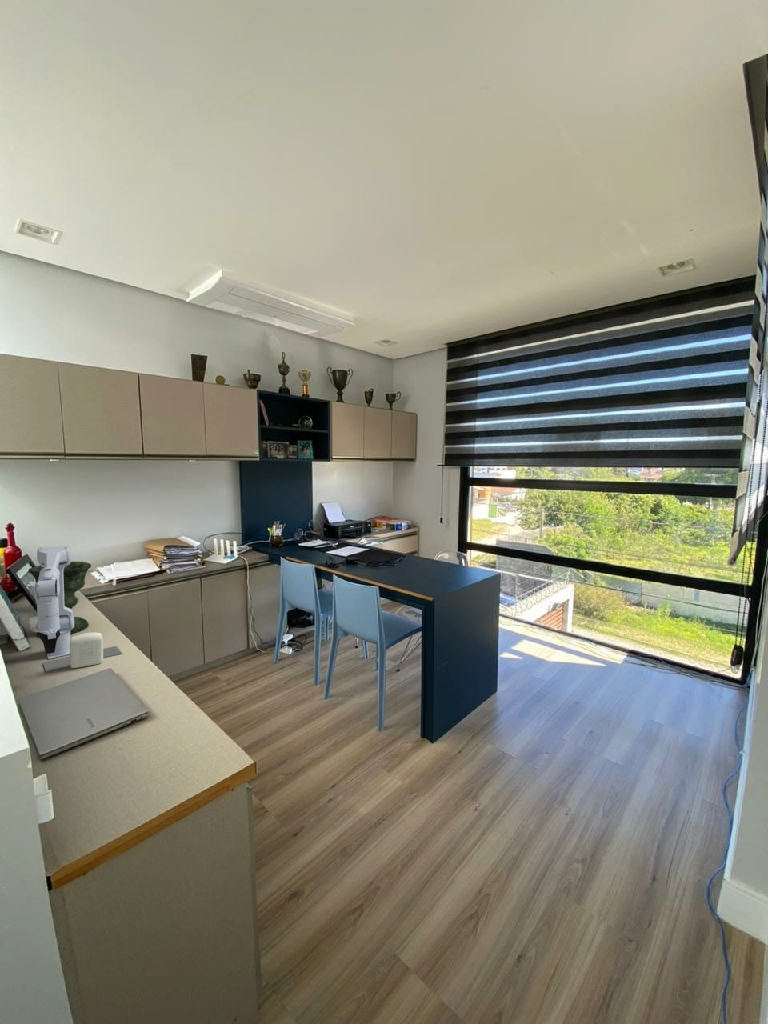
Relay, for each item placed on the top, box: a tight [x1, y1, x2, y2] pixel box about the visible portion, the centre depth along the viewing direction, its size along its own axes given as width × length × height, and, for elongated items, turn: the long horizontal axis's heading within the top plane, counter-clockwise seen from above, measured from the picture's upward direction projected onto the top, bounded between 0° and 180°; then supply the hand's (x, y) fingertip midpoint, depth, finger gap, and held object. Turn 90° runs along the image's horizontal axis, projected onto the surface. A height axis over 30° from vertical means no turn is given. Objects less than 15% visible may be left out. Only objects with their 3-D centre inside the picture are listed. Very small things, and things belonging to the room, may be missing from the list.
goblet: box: [27, 561, 92, 637], centre depth 191 cm, size 22×23×30 cm
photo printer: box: [69, 632, 104, 669], centre depth 158 cm, size 10×4×12 cm, turn 123°
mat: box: [42, 645, 123, 673], centre depth 164 cm, size 10×24×1 cm, turn 135°
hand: (50, 652), depth 144 cm, fingers closed
